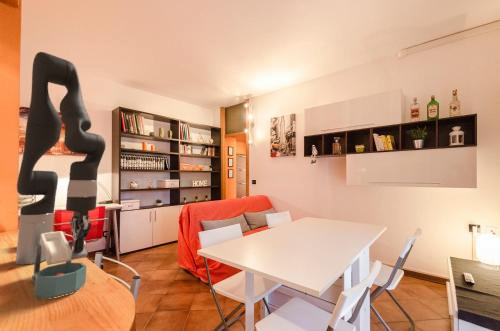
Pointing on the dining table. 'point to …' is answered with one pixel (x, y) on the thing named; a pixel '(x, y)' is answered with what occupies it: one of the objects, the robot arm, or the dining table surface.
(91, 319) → the dining table surface
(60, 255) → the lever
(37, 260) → the lever stand
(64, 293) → the teal octagonal bowl
